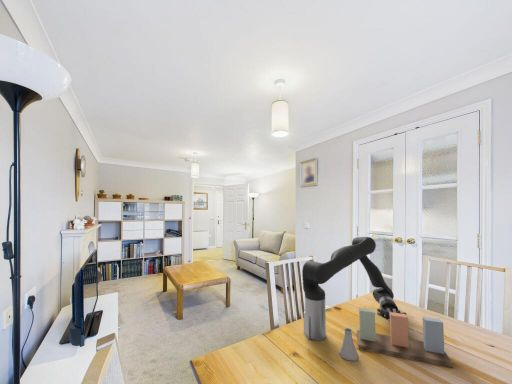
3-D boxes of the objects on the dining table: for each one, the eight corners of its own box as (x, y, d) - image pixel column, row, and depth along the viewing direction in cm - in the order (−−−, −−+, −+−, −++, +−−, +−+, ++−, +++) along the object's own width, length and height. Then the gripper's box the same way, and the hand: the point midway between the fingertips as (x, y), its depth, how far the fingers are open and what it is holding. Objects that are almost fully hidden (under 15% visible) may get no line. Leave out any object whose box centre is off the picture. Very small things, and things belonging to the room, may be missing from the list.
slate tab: (426, 350, 93) (425, 320, 94) (423, 346, 96) (422, 316, 97) (444, 354, 91) (443, 322, 92) (441, 349, 94) (440, 319, 95)
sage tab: (360, 338, 102) (359, 310, 102) (359, 335, 104) (359, 307, 105) (375, 341, 100) (374, 312, 100) (374, 337, 102) (374, 309, 103)
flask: (357, 351, 96) (357, 326, 96) (359, 363, 89) (358, 336, 90) (339, 348, 98) (338, 323, 99) (339, 359, 92) (338, 333, 92)
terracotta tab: (391, 344, 97) (390, 315, 98) (390, 340, 100) (389, 312, 101) (408, 347, 95) (407, 317, 96) (406, 343, 98) (405, 314, 99)
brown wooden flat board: (358, 349, 98) (358, 344, 98) (356, 334, 109) (356, 330, 109) (452, 367, 87) (452, 362, 87) (440, 348, 98) (440, 344, 98)
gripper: (373, 297, 123) (378, 311, 106) (402, 300, 118) (412, 316, 102) (374, 311, 122) (379, 328, 106) (403, 315, 118) (413, 334, 101)
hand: (395, 322), depth 104 cm, fingers closed
